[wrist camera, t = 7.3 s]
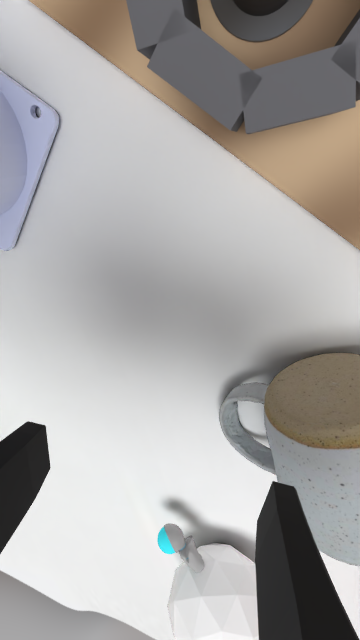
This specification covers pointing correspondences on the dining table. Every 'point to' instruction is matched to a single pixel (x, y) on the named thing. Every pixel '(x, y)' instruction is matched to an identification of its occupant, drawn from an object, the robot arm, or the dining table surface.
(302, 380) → the ceramic mug
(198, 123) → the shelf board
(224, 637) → the perfume bottle
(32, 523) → the dining table surface
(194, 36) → the dark grey octagonal ring
